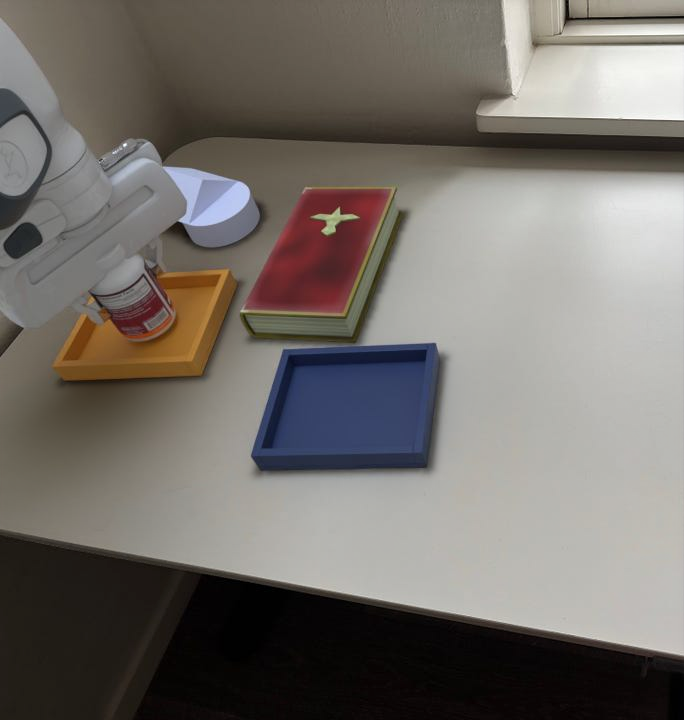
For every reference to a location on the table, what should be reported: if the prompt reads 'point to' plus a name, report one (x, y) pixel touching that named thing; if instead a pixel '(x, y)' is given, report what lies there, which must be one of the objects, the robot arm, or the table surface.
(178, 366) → the amber tray
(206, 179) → the wedge on round base
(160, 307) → the pill bottle
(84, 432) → the table surface
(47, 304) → the robot arm
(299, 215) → the hardcover book
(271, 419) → the navy tray
